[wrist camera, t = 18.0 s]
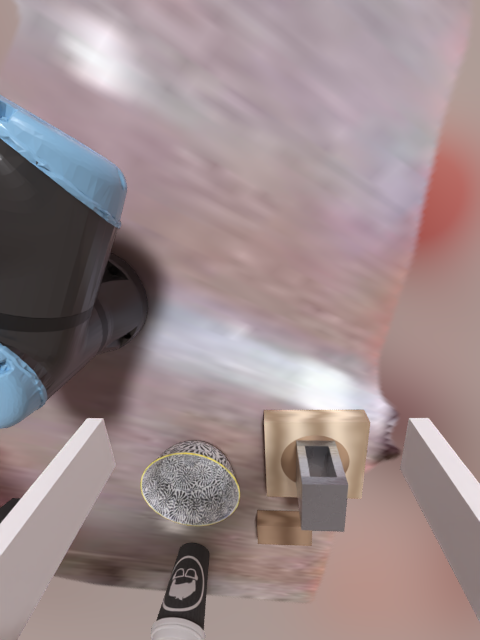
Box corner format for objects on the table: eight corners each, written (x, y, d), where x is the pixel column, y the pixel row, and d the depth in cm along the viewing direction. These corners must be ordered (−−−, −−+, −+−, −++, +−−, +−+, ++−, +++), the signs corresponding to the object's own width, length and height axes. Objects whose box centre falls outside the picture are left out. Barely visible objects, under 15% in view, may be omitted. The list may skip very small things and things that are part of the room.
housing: (296, 440, 47) (302, 484, 40) (334, 440, 47) (348, 485, 40) (295, 482, 51) (301, 530, 43) (332, 483, 50) (344, 531, 43)
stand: (258, 528, 60) (258, 543, 57) (257, 510, 58) (257, 525, 55) (309, 529, 59) (311, 545, 56) (309, 511, 57) (312, 527, 54)
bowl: (252, 482, 56) (251, 522, 49) (173, 492, 58) (160, 532, 51) (229, 412, 50) (223, 446, 43) (142, 427, 53) (124, 462, 46)
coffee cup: (163, 553, 65) (136, 648, 51) (188, 531, 62) (166, 626, 48) (199, 573, 66) (182, 671, 52) (225, 553, 63) (214, 651, 49)
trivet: (266, 481, 55) (266, 496, 52) (264, 410, 50) (264, 422, 47) (356, 483, 54) (361, 499, 51) (363, 409, 48) (370, 422, 45)
